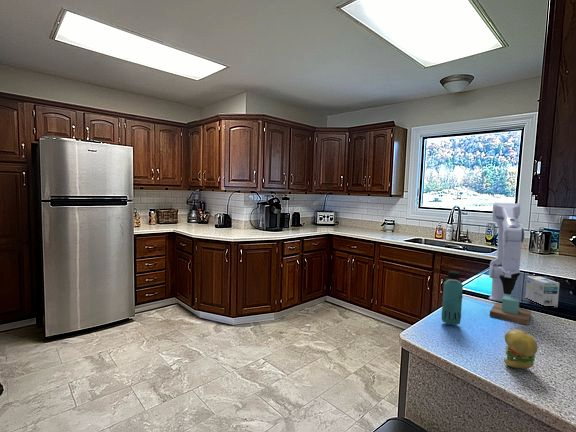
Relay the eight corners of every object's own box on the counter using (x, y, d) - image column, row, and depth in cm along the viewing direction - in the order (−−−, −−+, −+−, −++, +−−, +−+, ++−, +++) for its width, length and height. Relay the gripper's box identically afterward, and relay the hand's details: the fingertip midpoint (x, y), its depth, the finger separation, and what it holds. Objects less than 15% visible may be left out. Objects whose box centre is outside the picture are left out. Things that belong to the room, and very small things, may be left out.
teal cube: (503, 307, 129) (504, 295, 128) (518, 310, 126) (519, 298, 125) (501, 310, 125) (502, 298, 125) (517, 314, 122) (518, 301, 121)
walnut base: (494, 307, 134) (495, 303, 134) (530, 315, 126) (530, 310, 126) (489, 316, 125) (489, 311, 125) (527, 325, 117) (527, 319, 117)
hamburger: (521, 361, 92) (525, 321, 91) (542, 376, 85) (546, 333, 84) (496, 362, 92) (499, 321, 90) (514, 376, 84) (518, 333, 83)
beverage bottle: (440, 326, 115) (443, 272, 113) (441, 320, 120) (444, 268, 119) (460, 330, 112) (464, 275, 110) (460, 323, 117) (464, 270, 116)
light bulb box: (558, 307, 136) (560, 282, 135) (542, 307, 136) (544, 282, 135) (539, 298, 146) (541, 275, 145) (524, 298, 147) (526, 275, 146)
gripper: (502, 253, 133) (499, 285, 134) (496, 259, 122) (493, 293, 123) (522, 256, 128) (520, 289, 130) (518, 262, 118) (515, 298, 119)
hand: (508, 291), depth 126 cm, fingers open, 7 cm apart
